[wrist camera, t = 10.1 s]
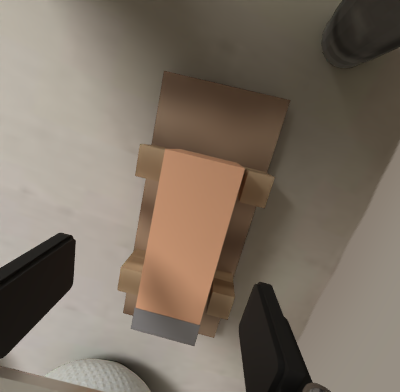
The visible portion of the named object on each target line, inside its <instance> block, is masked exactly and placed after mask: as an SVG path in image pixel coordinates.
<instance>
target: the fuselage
mask: <svg viewBox="0 0 400 392" xmlns="http://www.w3.org/2000/svg"><path fill="white" fill-rule="evenodd" d="M244 170H245V168H244V167H242V166H241V165H240V164H238V163H236V162H232V161H228V160H223V159H219V158H215V157H211V156H207V155H203V154H199V153H195V152H191V151H187V150H182V149H165V152H164V157H163V163H162V168H161V173H160V179H159V184H158V190H157V195H156V200H155V206H154V211H153V216H152V222H151V227H150V233H149V238H148V243H147V249H146V254H145V259H144V265H143V270H142V275H141V281H140V286H139V292H138V297H137V302H136V306H135V309H134V314H133V319H132V325H131V329H133V330H137V331H141V332H144V333H148V334H151V335H155V336H159V337H162V338H166V339H170V340H173V341H177V342H181V343H184V344H188V345H192V346H195V342H196V339H197V335H198V332H199V328H200V323H201V319H202V315H203V312H204V308H205V305H206V301H207V298H208V295H209V291H210V288H211V284H212V281H213V277H214V274H215V270H216V267H217V264H218V260H219V257H220V253H221V250H222V246H223V243H224V239H225V236H226V233H227V229H228V226H229V222H230V219H231V215H232V212H233V208H234V205H235V201H236V198H237V195H238V191H239V188H240V184H241V181H242V177H243V174H244Z"/></svg>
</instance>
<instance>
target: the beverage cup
mask: <svg viewBox="0 0 400 392" xmlns="http://www.w3.org/2000/svg"><path fill="white" fill-rule="evenodd" d="M321 44H322V51H323V54H324V56H325V57H326V59H327V61H329V62H330V63H331V64H332V65H334V66H337V67H340V68H350V67H353V66H356V65H359V64H360V63H363V62H366V61H369V60H372V59H374V58H376V57H379V56H381V55H383V54H385V53H388V52H390V51H392V50H394V49H396V48H399V47H400V0H342V2H341V3H340V5H339V6H338V7H337V9H336V10H335V12H334V15H333V16H332V18H331V19H330V21H329V22H328V23H327V25H326V27H325V30H324V32H323V35H322V43H321Z"/></svg>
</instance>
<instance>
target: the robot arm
mask: <svg viewBox="0 0 400 392" xmlns="http://www.w3.org/2000/svg"><path fill="white" fill-rule="evenodd" d="M75 244H76V241H75V239H73V236H72V235H68V234H64V233H58V234H56V235H55V236H53V237H51V238H50V239H48V240H46V241H45V242H43V243H41V244H40V245H38V246H36V247H35V248H33V249H31V250H30V251H28V252H26V253H25V254H23V255H21V256H20V257H18V258H16V259H15V260H13V261H11V262H10V263H8V264H6V265H5V266H3V267H1V268H0V359H1V358H3V357H5V356H6V355H7V354H8V353H9V352H10V351H11V350H12V349H13V348H14V347H15V346H16V345H17V344H18V343H19V341H20V340H21V339H22V338H23V337H24V336H25V335H26V334H27V333H28V332H29V331H30V330H31V329H32V328H33V327H34V326H35V325H36V324H37V323H38V322H39V321H40V320H41V319H42V318H43V317H44V316H45V315H46V314H47V313H48V312H49V310H50V309H51V308H52V307H53V306H54V305H55V304H56V303H57V302H58V301H59V300H60V299H61V298H62V297H63V296H64V295H65V294H66V293H67V292H68V291H69V290H70V288H71V287H72V285H73V277H74V261H75ZM239 337H240V345H241V353H242V362H243V370H244V378H245V386H246V392H331V391H329V390H328V389H327V388H325V387H323V386H322V385H320V384H317V383H313V382H312V380H311V377H310V375H309V373H308V370H307V367H306V365H305V362H304V360H303V357H302V355H301V352H300V350H299V347H298V345H297V342H296V340H295V337H294V335H293V332H292V330H291V327H290V325H289V323H288V321H287V319H286V318H285V317H284V316H283V313H282V311H281V308H280V306H279V303H278V300H277V298H276V295H275V293H274V290H273V288H272V286H271V285H270V284H266V283H262V282H259V283H258V284H255V285H254V287H253V289H252V292H251V295H250V297H249V300H248V303H247V305H246V308H245V311H244V313H243V316H242V319H241V321H240V324H239ZM0 392H103V391H99V390H95V389H91V388H87V387H84V386H80V385H76V384H72V383H68V382H64V381H60V380H55V379H51V378H47V377H43V376H39V375H35V374H31V373H27V372H23V371H19V370H15V369H10V368H6V367H2V366H0Z"/></svg>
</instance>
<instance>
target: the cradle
mask: <svg viewBox="0 0 400 392" xmlns="http://www.w3.org/2000/svg"><path fill="white" fill-rule="evenodd" d="M289 103H290V100H287V99H283V98H278V97H274V96H270V95H265V94H261V93H257V92H253V91H248V90H244V89H240V88H236V87H231V86H227V85H223V84H218V83H214V82H210V81H206V80H201V79H197V78H193V77H188V76H184V75H180V74H176V73H171V72H167V71H164V74H163V80H162V86H161V92H160V98H159V104H158V110H157V116H156V122H155V127H154V133H153V139H152V145H147V144H140V148H139V154H138V160H137V167H136V173H135V176H138V177H142V178H146V181H145V187H144V193H143V198H142V204H141V210H140V216H139V222H138V228H137V234H136V240H135V246H134V252H133V253H132V254H131V256H130V257H129V258H128V259H127V260H126V262H125V263H124V264H123V265H122V267H121V270H120V277H119V283H118V290H119V291H122V292H126V299H125V305H124V311H123V313H125V314H129V315H132V316H133V314H134V309H135V306H136V302H137V297H138V292H139V286H140V281H141V275H142V270H143V265H144V259H145V254H146V249H147V243H148V238H149V233H150V227H151V222H152V216H153V211H154V206H155V200H156V195H157V190H158V184H159V179H160V173H161V168H162V163H163V157H164V152H165V149H182V150H187V151H191V152H195V153H199V154H203V155H207V156H211V157H215V158H219V159H223V160H228V161H232V162H236V163H238V164H240V165H241V166H242V167H244V168H245V170H244V174H243V177H242V181H241V184H240V188H239V191H238V195H237V198H236V201H235V205H234V208H233V212H232V215H231V219H230V222H229V226H228V229H227V233H226V236H225V239H224V243H223V246H222V250H221V253H220V257H219V260H218V264H217V267H216V270H215V274H214V277H213V281H212V284H211V288H210V291H209V295H208V298H207V301H206V305H205V308H204V312H203V315H202V319H201V323H200V328H199V332H198V334H202V335H205V336H209V337H213V338H214V336H215V333H216V330H217V327H218V324H219V321H220V318H222V319H226V320H228V317H229V314H230V311H231V308H232V305H233V302H234V299H235V294H234V285H233V277H234V274H235V271H236V268H237V265H238V262H239V259H240V255H241V252H242V249H243V246H244V243H245V240H246V237H247V234H248V231H249V227H250V224H251V221H252V218H253V215H254V212H255V209H256V206H257V207H261V208H265V206H266V203H267V200H268V197H269V194H270V191H271V188H272V185H273V182H274V179H275V177H273V176H271V175H269V174H268V173H267V171H268V168H269V165H270V162H271V159H272V156H273V153H274V150H275V147H276V143H277V140H278V137H279V134H280V131H281V128H282V125H283V122H284V119H285V116H286V112H287V109H288V106H289Z"/></svg>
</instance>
